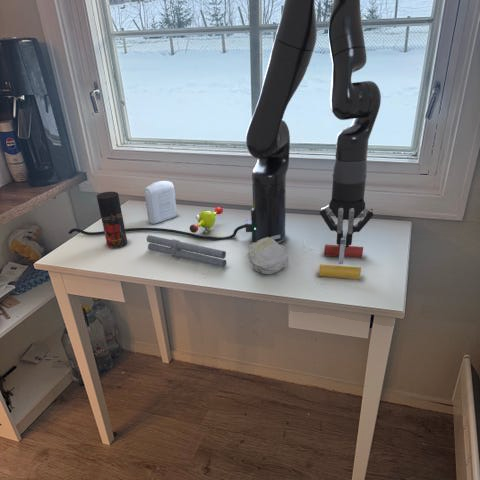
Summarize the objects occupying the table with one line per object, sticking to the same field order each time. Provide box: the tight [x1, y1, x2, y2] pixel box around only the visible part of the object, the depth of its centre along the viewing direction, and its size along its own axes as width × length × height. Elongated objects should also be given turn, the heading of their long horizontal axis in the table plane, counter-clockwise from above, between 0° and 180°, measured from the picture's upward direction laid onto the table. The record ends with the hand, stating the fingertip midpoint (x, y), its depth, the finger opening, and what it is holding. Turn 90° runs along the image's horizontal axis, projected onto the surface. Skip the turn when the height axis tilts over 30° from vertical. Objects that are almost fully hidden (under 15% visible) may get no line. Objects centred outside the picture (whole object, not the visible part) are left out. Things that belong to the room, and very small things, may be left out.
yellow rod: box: [318, 263, 362, 281], centre depth 116 cm, size 10×3×3 cm, turn 75°
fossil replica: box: [247, 237, 290, 275], centre depth 120 cm, size 12×8×10 cm
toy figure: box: [189, 206, 224, 234], centre depth 142 cm, size 18×6×7 cm, turn 154°
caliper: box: [338, 228, 348, 265], centre depth 117 cm, size 20×1×6 cm, turn 166°
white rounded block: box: [143, 180, 178, 225], centre depth 152 cm, size 10×4×12 cm, turn 134°
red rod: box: [323, 243, 364, 259], centre depth 126 cm, size 10×3×3 cm, turn 75°
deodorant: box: [96, 191, 128, 249], centre depth 135 cm, size 6×6×15 cm
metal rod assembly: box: [146, 234, 227, 268], centre depth 128 cm, size 26×3×5 cm, turn 60°
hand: (343, 245), depth 119 cm, fingers closed on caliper, 1 cm apart
